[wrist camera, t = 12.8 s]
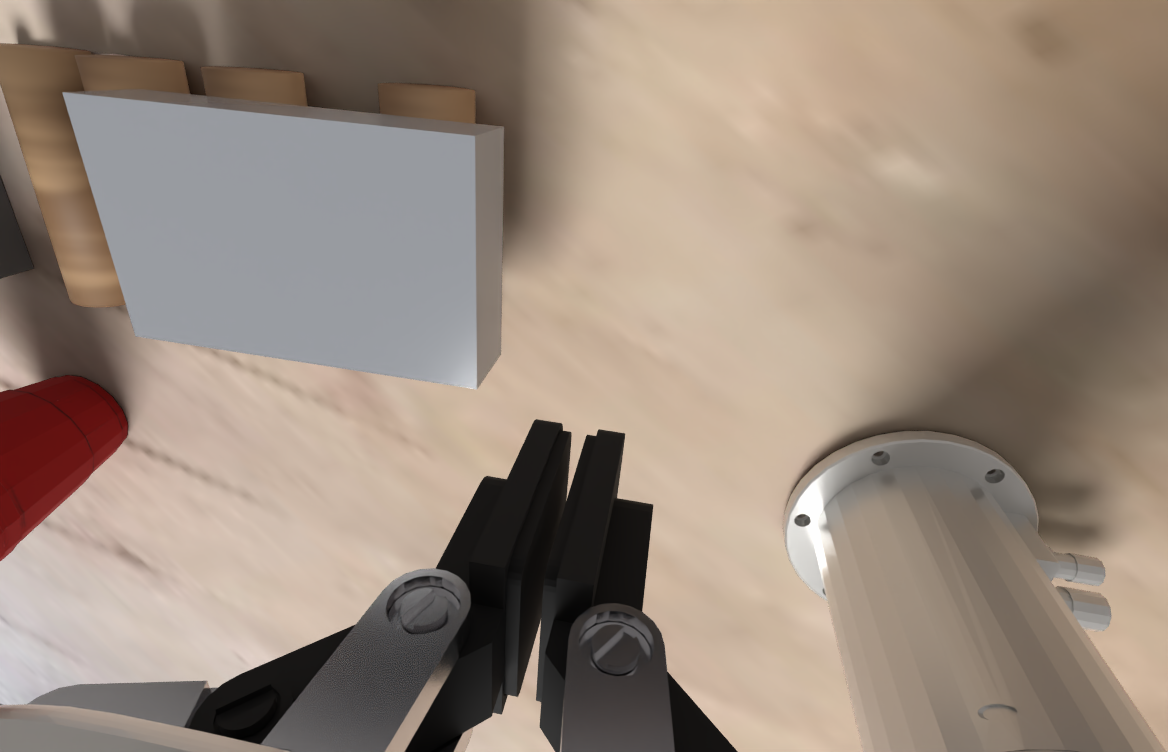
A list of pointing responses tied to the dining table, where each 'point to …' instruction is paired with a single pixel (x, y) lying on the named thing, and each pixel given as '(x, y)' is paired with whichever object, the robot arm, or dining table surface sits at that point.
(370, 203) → the slab
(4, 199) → the block
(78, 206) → the roller
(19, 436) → the plastic cup
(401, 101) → the roller bed
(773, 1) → the dining table surface
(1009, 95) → the dining table surface
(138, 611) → the dining table surface
